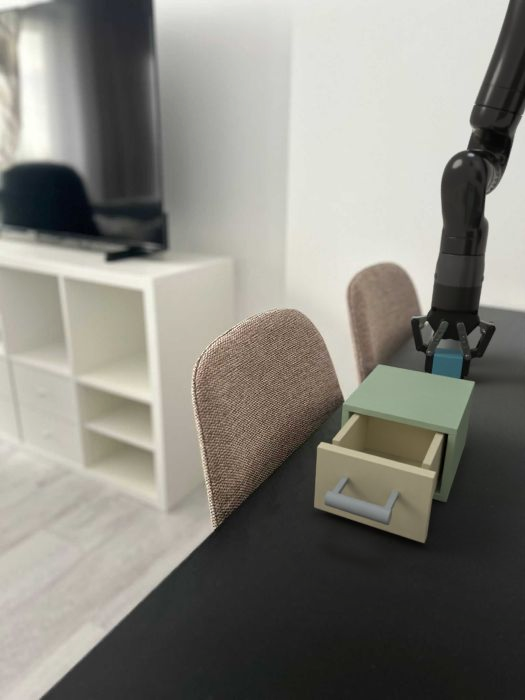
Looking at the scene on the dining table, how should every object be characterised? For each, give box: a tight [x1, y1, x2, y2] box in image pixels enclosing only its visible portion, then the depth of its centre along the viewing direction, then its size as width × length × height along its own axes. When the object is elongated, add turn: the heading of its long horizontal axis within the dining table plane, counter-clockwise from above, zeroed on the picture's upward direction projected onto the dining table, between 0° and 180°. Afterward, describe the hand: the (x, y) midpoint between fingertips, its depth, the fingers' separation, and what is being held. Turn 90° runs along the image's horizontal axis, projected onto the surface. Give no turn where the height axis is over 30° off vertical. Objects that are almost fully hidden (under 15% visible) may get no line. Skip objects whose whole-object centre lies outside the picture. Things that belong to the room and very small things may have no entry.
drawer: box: [313, 413, 448, 544], centre depth 54 cm, size 18×11×7 cm, turn 152°
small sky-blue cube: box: [432, 348, 463, 379], centre depth 89 cm, size 5×5×5 cm
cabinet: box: [340, 364, 476, 503], centre depth 64 cm, size 15×13×9 cm
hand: (445, 375), depth 90 cm, fingers closed on small sky-blue cube, 4 cm apart
